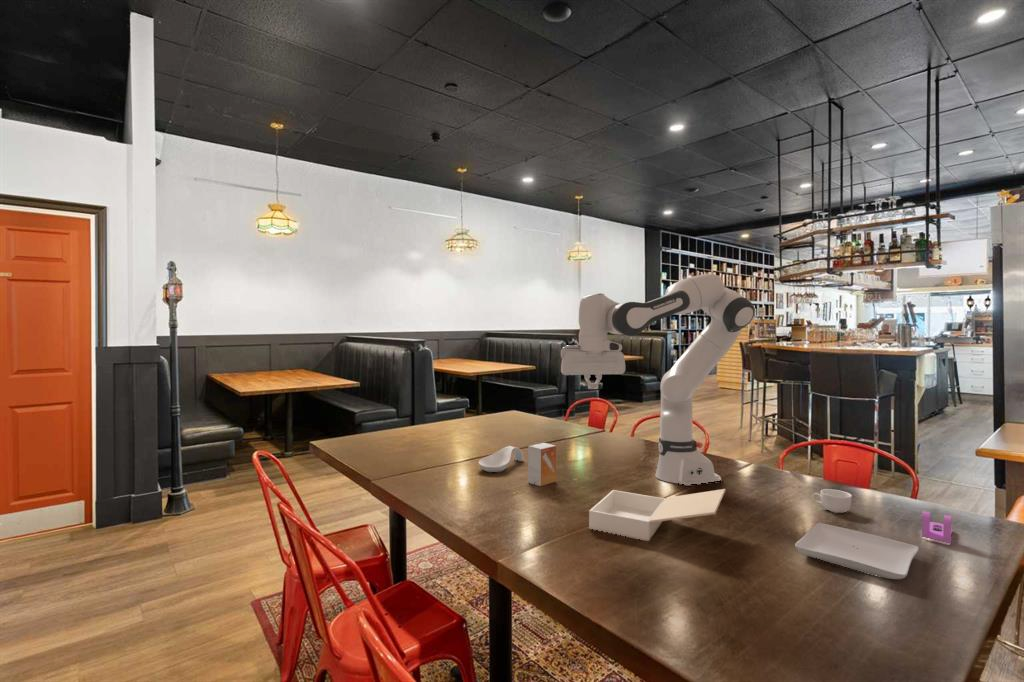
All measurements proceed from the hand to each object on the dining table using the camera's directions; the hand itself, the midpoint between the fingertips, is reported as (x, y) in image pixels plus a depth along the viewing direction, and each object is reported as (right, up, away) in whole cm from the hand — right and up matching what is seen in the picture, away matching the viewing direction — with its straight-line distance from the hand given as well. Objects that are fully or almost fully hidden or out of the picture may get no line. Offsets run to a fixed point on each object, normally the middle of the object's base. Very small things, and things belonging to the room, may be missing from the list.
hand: (593, 388), depth 158 cm
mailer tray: (+7, -35, -19) cm, 41 cm away
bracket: (+86, -36, -27) cm, 97 cm away
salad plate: (+56, -37, -40) cm, 78 cm away
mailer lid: (+21, -28, -27) cm, 44 cm away
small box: (-15, -35, +18) cm, 42 cm away
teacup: (+69, -36, -9) cm, 78 cm away
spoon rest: (-29, -35, +37) cm, 59 cm away
